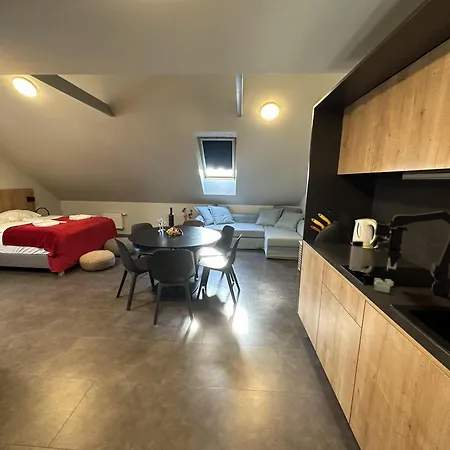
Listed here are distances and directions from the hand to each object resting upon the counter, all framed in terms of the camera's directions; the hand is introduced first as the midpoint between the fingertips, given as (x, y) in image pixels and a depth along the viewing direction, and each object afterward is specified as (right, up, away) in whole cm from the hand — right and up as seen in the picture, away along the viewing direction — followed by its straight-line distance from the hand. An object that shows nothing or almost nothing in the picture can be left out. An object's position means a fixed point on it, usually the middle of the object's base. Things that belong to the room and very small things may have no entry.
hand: (391, 265), depth 147 cm
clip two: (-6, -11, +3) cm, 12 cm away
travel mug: (-9, -7, +24) cm, 27 cm away
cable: (-3, -11, +3) cm, 12 cm away
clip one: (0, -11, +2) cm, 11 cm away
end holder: (-8, -12, -4) cm, 15 cm away
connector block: (0, -1, 0) cm, 1 cm away
